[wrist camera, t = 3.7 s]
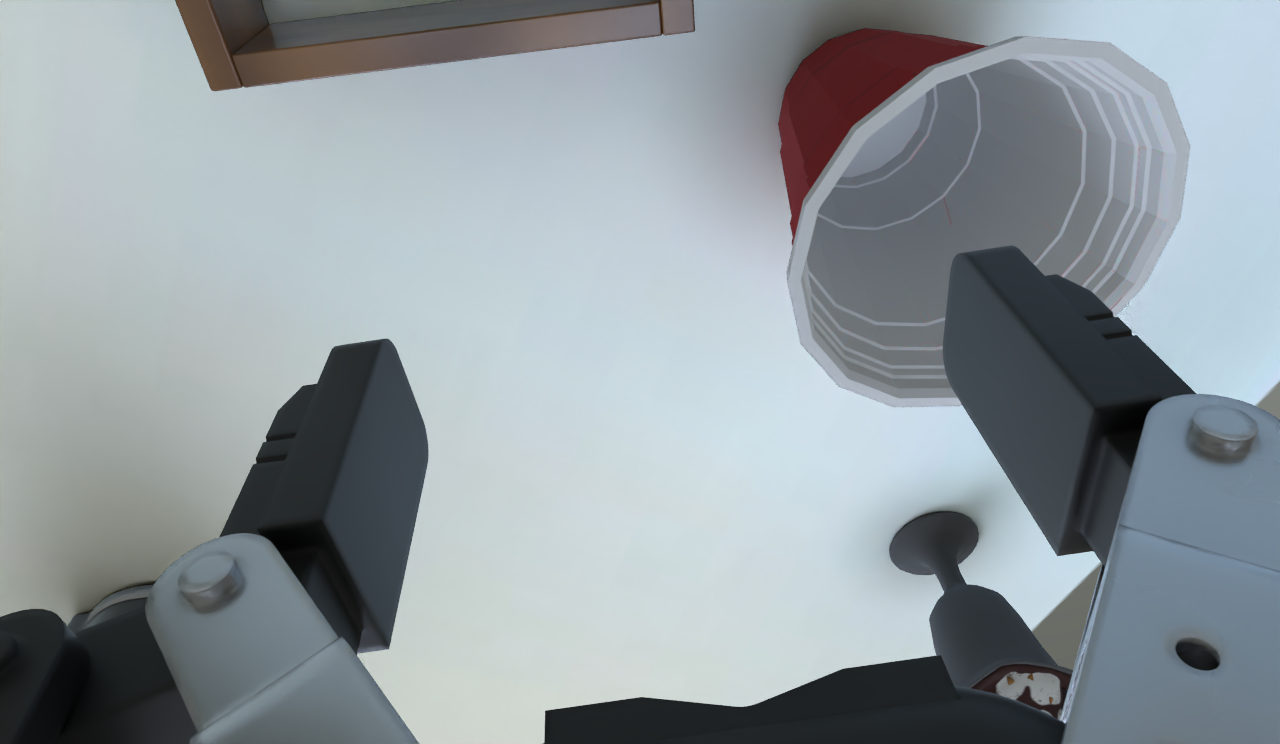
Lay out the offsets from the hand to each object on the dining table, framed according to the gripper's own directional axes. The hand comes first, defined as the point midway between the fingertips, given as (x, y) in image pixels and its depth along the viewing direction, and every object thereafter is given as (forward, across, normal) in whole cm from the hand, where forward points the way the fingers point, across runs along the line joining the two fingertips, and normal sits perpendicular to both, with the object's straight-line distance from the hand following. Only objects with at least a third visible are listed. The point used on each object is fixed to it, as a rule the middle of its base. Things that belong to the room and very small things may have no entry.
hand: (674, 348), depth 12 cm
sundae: (+21, -13, +30) cm, 39 cm away
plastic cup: (+21, -9, +5) cm, 23 cm away
